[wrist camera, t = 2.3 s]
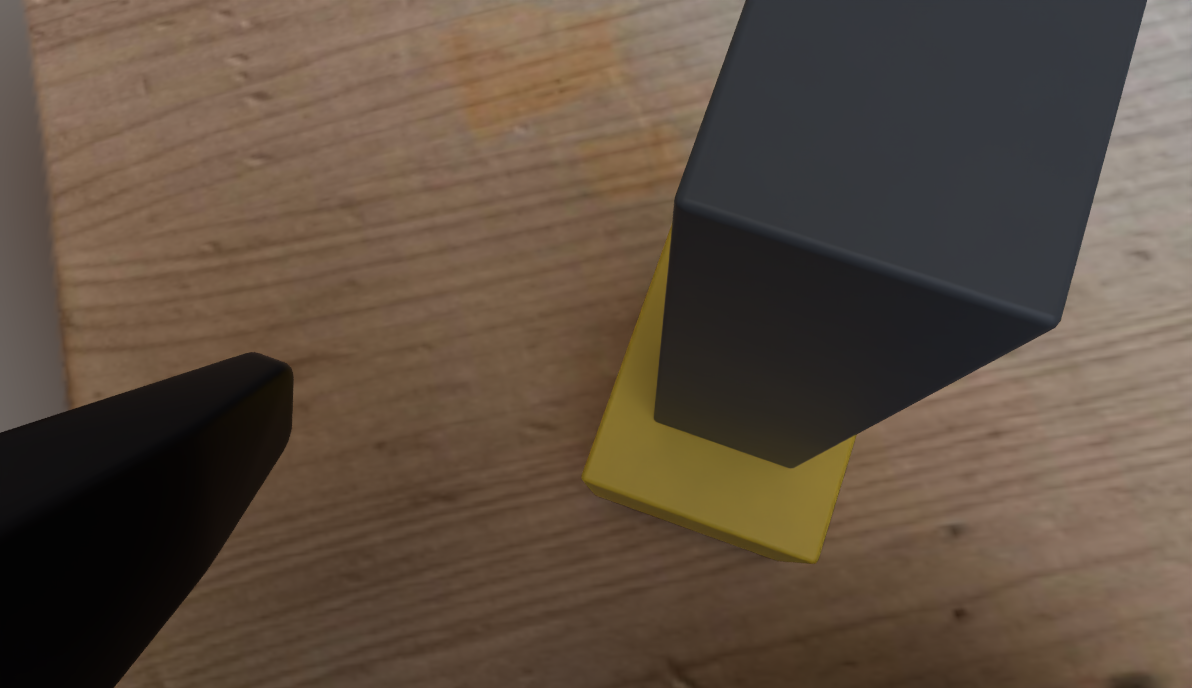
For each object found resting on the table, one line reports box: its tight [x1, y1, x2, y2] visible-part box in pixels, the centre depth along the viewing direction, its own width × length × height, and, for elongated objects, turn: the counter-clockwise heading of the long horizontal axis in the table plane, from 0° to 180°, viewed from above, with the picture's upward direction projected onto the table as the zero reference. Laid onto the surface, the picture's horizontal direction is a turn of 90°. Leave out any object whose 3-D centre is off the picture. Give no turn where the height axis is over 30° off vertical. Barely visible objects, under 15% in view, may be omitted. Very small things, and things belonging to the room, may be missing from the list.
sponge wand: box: [582, 0, 1147, 564], centre depth 13 cm, size 5×4×14 cm
